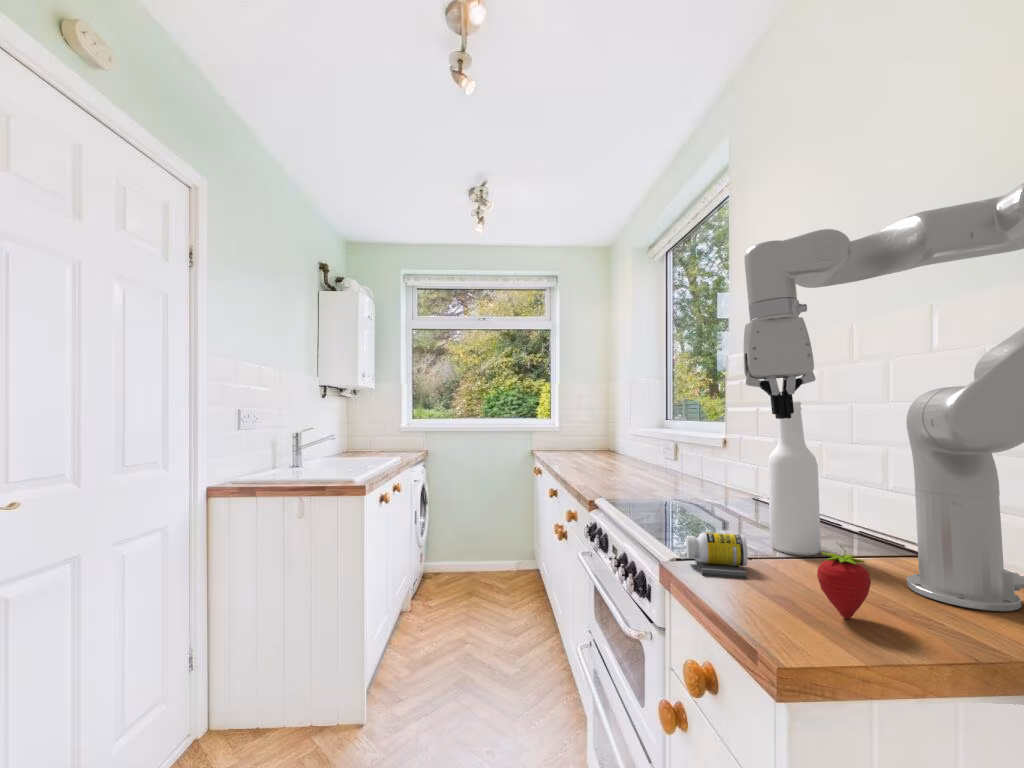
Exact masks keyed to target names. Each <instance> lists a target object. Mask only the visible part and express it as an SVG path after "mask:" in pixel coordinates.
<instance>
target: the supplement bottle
mask: <svg viewBox="0 0 1024 768" xmlns="http://www.w3.org/2000/svg"><path fill="white" fill-rule="evenodd" d="M685 543H686V544H685V545H686V547H685V548H686V556H687V559H694V560H695V559H696V558H700V560H701V562H703V563H705V564H718V565H731V566H739V567H746V566H747V564H748V557H749V556H748V553H749V552H748V545H747V541H746V538H745V536H744V535H743V534H738V533H737V534H734V533H733V534H732V533H716V532H701V533H700V534H699V535H698V537H696V536H695V535H686V539H685Z"/></svg>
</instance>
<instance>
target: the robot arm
mask: <svg viewBox="0 0 1024 768" xmlns="http://www.w3.org/2000/svg"><path fill="white" fill-rule="evenodd" d="M1020 250H1024V182H1022V183H1021V184H1020V185H1018V186H1016V187H1015V188H1013V190H1011V191H1010V192H1008V193H1007V194H1004V195H1001V196H996V197H992V198H987V199H981V200H977V201H972V202H967V203H961V204H956V205H951V206H946V207H940V208H934V209H929V210H928V209H927V210H924V211H920V212H919V211H918V212H917V213H914V214H912V215H910V216H906V217H904V218H902V219H900V220H898V221H896V222H895V223H893V224H891V225H889V226H887V227H885V228H883V229H881V230H878V231H876V232H875V233H872V234H869V235H866V236H864V237H861V238H858V239H854V240H850V238H849V237H848V235H846V234H845V233H844V232H842V231H840V230H837V229H834V228H833V229H832V228H824V229H818V230H814V231H811V232H807V233H804V234H801V235H800V234H799V235H798V236H794V237H791V238H788V239H783V240H769V241H768V240H767V241H763V242H761V243H760V242H759V243H757V244H755V245H752V246H751V247H749V248H748V249H747V250H746V252H745V253H744V257H743V258H744V269H745V270H744V272H745V279H746V280H745V281H746V292H747V301H748V314H749V315H748V316H749V322H748V323H746V324H745V326H744V332H743V371H744V375H745V377H746V378H745V385H746V386H748V387H754V388H760V389H761V390H763V391H764V392H765V393H767V395H768V396H769V397H770V406H771V407H770V408H771V414H772V415H775V419H778V420H780V419H784V418H791V413H794V408H793V401H794V398H793V395H795V392H796V391H797V390H798V389H799V388H800V387H801V386H802V385H806V384H808V383H809V384H810V383H812V382H815V381H816V376H815V373H814V368H815V363H814V361H815V360H814V352H813V348H812V343H811V342H812V341H811V339H810V334H809V331H808V329H807V328H808V327H807V325H806V323H805V322H806V321H805V320H804V317H802V316H801V317H800V315H801V314H802V313H806V312H808V305H807V304H806V303H800V302H799V301H800V300H799V299H798V295H797V294H798V293H797V286H799V287H802V288H805V289H806V288H807V289H815V288H824V287H831V286H838V285H843V284H844V285H845V284H850V283H855V282H859V281H864V280H869V279H873V278H877V277H881V276H886V275H890V274H895V273H901V272H905V271H908V270H909V271H910V270H912V269H915V268H920V267H924V266H930V265H937V264H942V263H947V262H948V263H949V262H955V261H960V260H967V259H973V258H979V257H986V256H992V255H999V254H1005V253H1010V252H1015V251H1020ZM777 379H782V390H781V391H780V388H779V385H778V381H777ZM973 379H974V380H973V381H971V382H970V383H968V384H967V385H958V386H949V387H947V386H946V387H939V388H934V389H931V390H929V391H926V392H923V394H920V395H919V396H918V397H916V399H915V400H913V402H912V403H911V405H910V406H909V407H908V411H907V414H906V431H907V435H908V437H907V438H908V440H909V445H910V450H911V456H912V461H913V462H912V464H913V474H914V475H913V477H914V498H915V519H916V535H917V540H916V541H917V557H918V558H917V559H918V560H917V561H918V573H915V574H910V575H908V576H907V578H906V585H907V587H908V588H910V590H911V591H913V592H915V593H916V594H919V595H920V596H923V597H926V598H929V599H932V600H934V601H938V602H941V603H945V604H949V605H953V606H957V607H962V608H966V609H967V608H968V609H972V610H973V609H974V610H981V611H990V612H1013V611H1017V610H1019V609H1021V608H1022V599H1021V597H1020V596H1019V595H1018V594H1016V593H1015V592H1019V591H1020V590H1021V589H1022V590H1023V589H1024V575H1020V573H1018V572H1013V571H1010V570H1007V569H1005V568H1004V566H1005V565H1004V550H1003V536H1002V533H1003V532H1002V520H1001V518H1002V517H1001V504H1000V494H1001V493H1000V492H1001V491H1000V481H999V473H998V469H997V464H996V463H995V459H994V456H993V454H995V453H996V454H997V453H1001V452H1005V451H1009V450H1011V449H1014V448H1016V447H1018V446H1020V445H1022V444H1024V326H1023V327H1021V328H1020V329H1018V330H1017V331H1016V332H1015V333H1013V334H1012V335H1010V336H1009V337H1008V338H1005V339H1004V340H1003V341H1001V342H1000V343H999V344H997V345H995V346H994V347H992V348H991V349H990V350H989V351H987V352H986V353H985V354H983V356H981V358H980V359H979V360H978V362H977V363H976V365H975V368H974V371H973Z"/></svg>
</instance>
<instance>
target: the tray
mask: <svg viewBox="0 0 1024 768" xmlns="http://www.w3.org/2000/svg"><path fill="white" fill-rule="evenodd" d="M694 561H695V564H696V565H697V568H698V567H699V568H698V569H699V571H700V574H701V575H702V576H708V577H709V576H710V577H721V578H735V579H736V578H738V579H747V576H748V575H747V573H748V572H747V571H746V570H743V569H742V568H741V566H731V565H718V564H705V563H703V562H701V560H700V558H696V559H694Z"/></svg>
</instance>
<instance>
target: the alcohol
mask: <svg viewBox="0 0 1024 768" xmlns="http://www.w3.org/2000/svg"><path fill="white" fill-rule="evenodd" d="M801 405H802V402H801V401H799V400H798V401H794V400H793V408H794V413H791V418H784V419H779V423H778V442H777V445H776V447H775V448H774V449H773V450H772V451H771V453H770V454H769V456H768V460H767V473H768V474H767V476H768V480H767V481H768V504H769V505H768V506H769V507H768V508H769V509H768V510H769V538H770V545H771V546H772V548H773V549H774V550H775V551H777V552H780V553H783V552H784V554H788V555H794V556H795V555H796V556H803V555H804V556H806V557H807V556H810V555H811V556H816V555H818V554H819V553H820V552H821V549H822V543H821V540H822V539H821V515H820V491H819V486H820V485H819V467H818V466H819V465H818V462H817V458H816V456H815V454H814V453H812V452H811V451H810V450H809V448H808V446H807V444H806V440H805V434H804V426H803V418H802V410H803V409H802V407H801Z"/></svg>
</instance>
